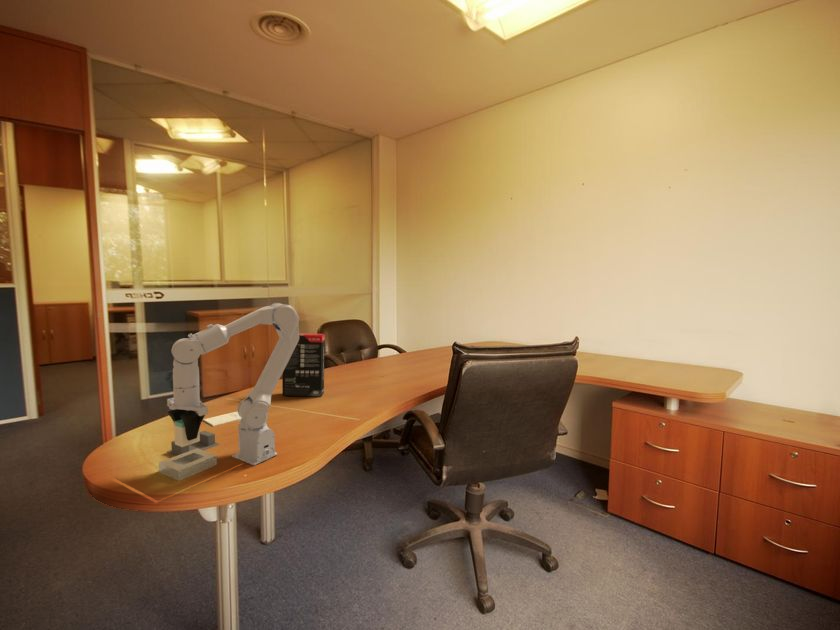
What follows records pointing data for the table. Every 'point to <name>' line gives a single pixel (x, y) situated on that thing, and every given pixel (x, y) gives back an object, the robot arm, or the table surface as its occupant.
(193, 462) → the port
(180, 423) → the plug
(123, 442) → the table surface
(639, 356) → the table surface
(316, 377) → the graphics card box
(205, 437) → the holster
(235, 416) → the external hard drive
